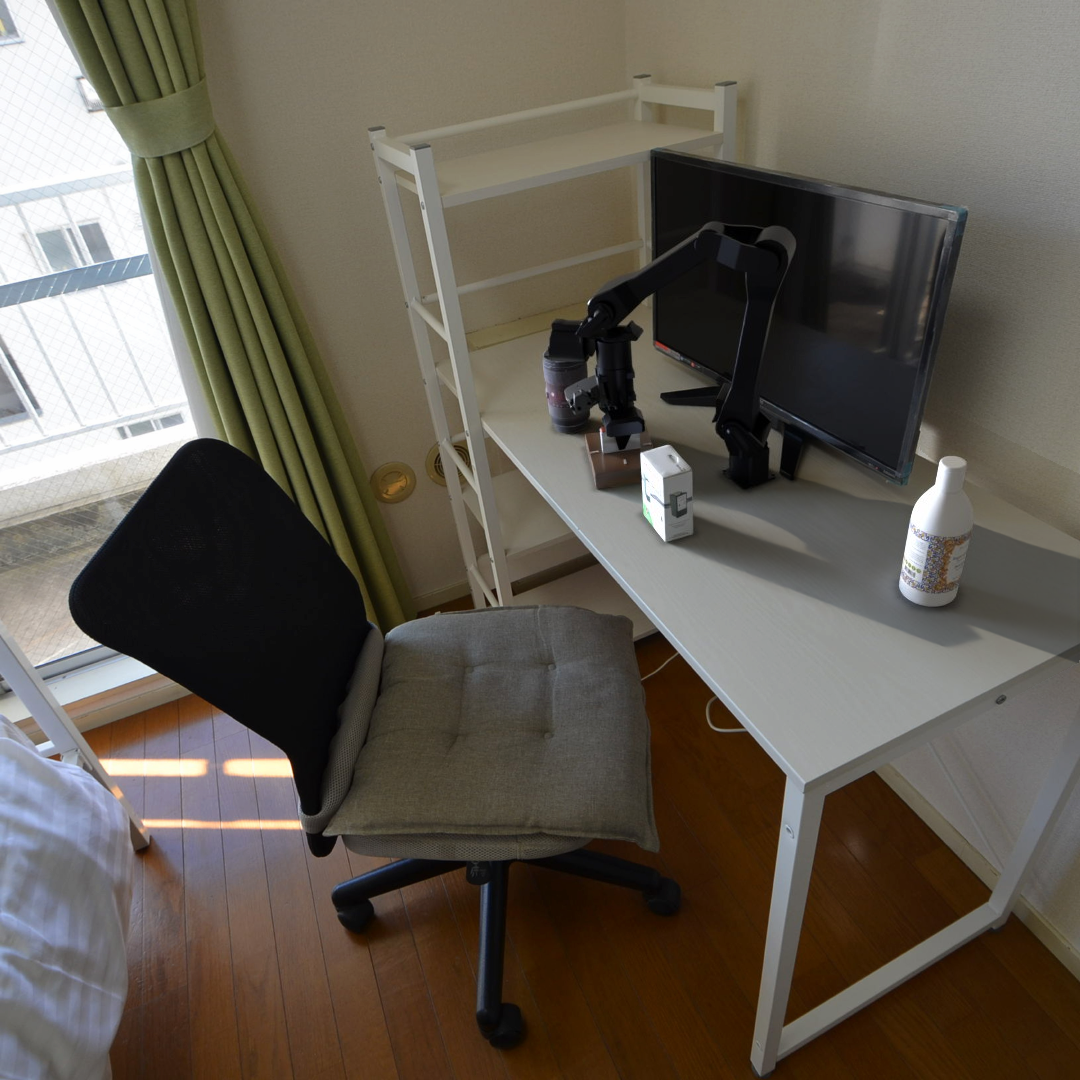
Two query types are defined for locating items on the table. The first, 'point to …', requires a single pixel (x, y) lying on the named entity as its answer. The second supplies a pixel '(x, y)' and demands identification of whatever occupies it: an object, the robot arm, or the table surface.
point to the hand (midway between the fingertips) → (620, 446)
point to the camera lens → (556, 383)
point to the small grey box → (611, 444)
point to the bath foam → (938, 538)
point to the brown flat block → (616, 462)
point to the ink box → (667, 492)
